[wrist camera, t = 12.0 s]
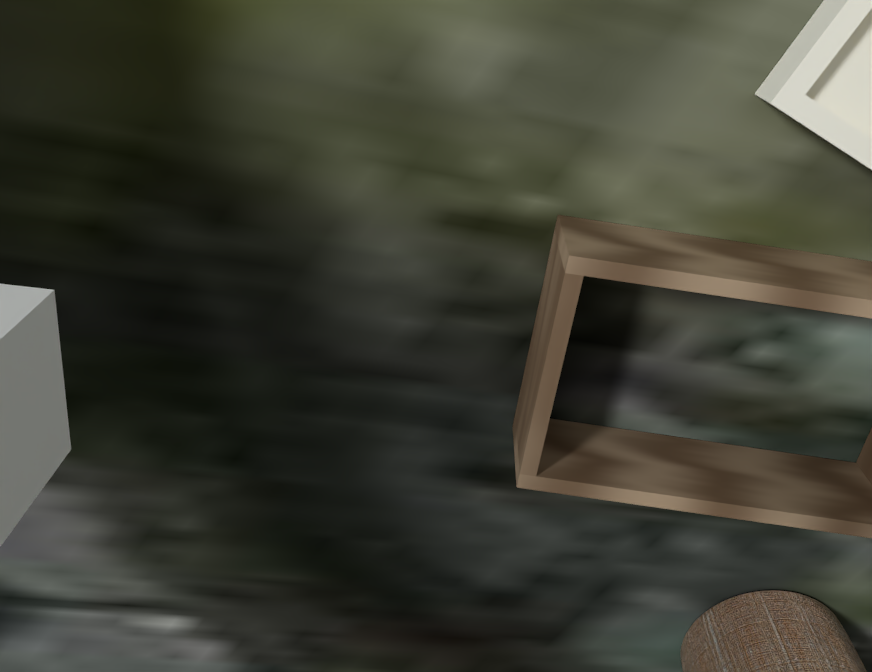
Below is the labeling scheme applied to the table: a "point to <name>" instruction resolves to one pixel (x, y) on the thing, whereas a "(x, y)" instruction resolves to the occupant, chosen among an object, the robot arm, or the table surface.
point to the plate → (829, 77)
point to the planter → (769, 637)
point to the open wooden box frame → (674, 456)
